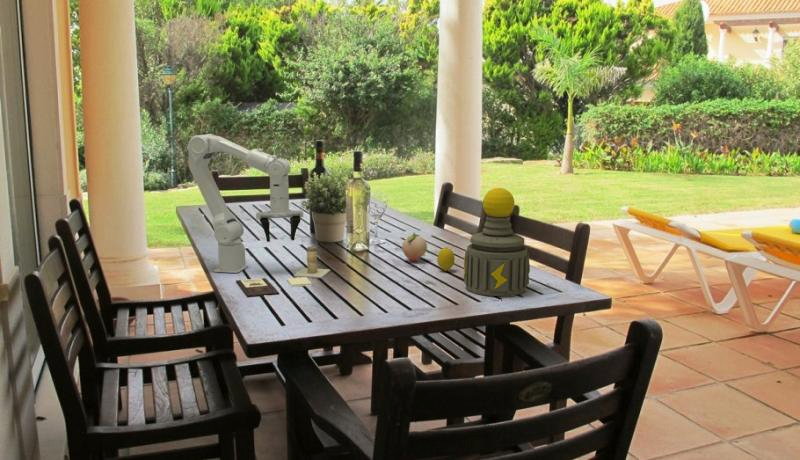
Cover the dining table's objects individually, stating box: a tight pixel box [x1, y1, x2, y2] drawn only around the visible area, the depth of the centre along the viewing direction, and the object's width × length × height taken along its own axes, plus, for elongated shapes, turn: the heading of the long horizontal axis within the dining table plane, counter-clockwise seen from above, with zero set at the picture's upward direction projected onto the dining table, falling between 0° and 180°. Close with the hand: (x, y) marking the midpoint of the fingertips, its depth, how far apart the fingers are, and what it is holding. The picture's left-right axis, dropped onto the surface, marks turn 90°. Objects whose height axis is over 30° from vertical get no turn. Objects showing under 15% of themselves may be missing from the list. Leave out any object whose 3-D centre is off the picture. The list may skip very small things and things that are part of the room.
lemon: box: [436, 246, 455, 272], centre depth 237 cm, size 6×6×8 cm
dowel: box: [306, 246, 318, 274], centre depth 232 cm, size 3×3×8 cm
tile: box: [286, 277, 313, 288], centre depth 222 cm, size 1×6×8 cm
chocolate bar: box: [235, 277, 280, 298], centre depth 215 cm, size 9×1×18 cm
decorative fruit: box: [401, 232, 428, 262], centre depth 251 cm, size 9×8×10 cm
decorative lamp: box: [463, 187, 531, 298], centre depth 214 cm, size 19×19×30 cm
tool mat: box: [293, 267, 331, 279], centre depth 233 cm, size 10×9×1 cm
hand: (280, 240), depth 232 cm, fingers open, 7 cm apart
